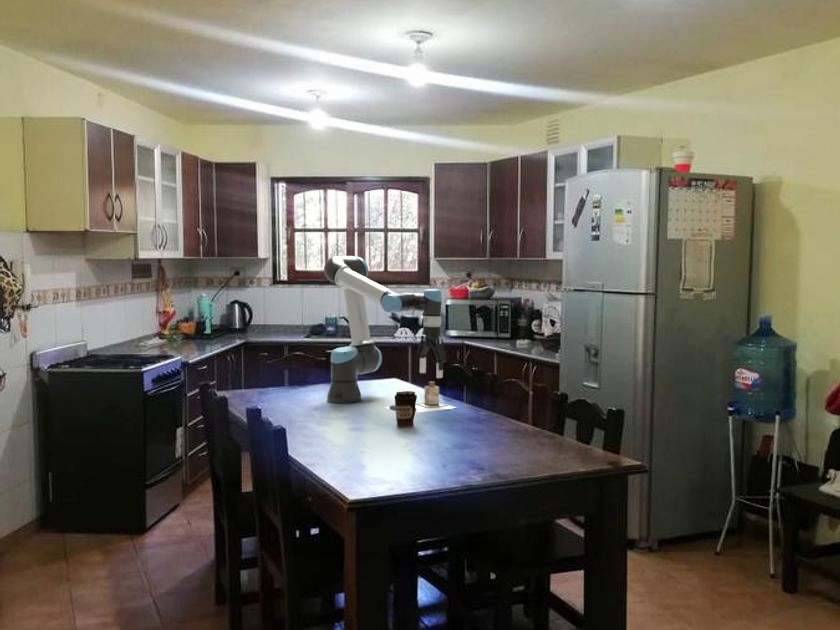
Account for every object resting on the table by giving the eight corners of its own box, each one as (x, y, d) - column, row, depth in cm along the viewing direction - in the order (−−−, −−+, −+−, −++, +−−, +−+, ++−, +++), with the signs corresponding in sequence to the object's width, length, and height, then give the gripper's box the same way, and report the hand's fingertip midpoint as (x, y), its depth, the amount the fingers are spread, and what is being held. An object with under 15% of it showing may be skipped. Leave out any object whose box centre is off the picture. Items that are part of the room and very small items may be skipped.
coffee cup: (414, 429, 282) (414, 394, 281) (392, 428, 283) (392, 393, 282) (418, 424, 290) (418, 390, 289) (397, 423, 292) (397, 389, 291)
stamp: (424, 404, 328) (424, 381, 327) (433, 403, 330) (433, 380, 330) (430, 406, 324) (430, 383, 323) (439, 405, 326) (439, 382, 326)
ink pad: (389, 408, 319) (389, 405, 319) (404, 407, 322) (404, 403, 322) (401, 412, 310) (401, 409, 310) (416, 411, 314) (416, 407, 314)
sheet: (383, 407, 322) (383, 406, 322) (435, 402, 336) (435, 400, 336) (403, 414, 308) (403, 413, 308) (457, 408, 321) (457, 407, 321)
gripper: (409, 323, 333) (408, 371, 335) (440, 329, 312) (439, 380, 314) (424, 322, 337) (423, 370, 339) (455, 328, 316) (454, 379, 318)
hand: (430, 375), depth 327 cm, fingers open, 13 cm apart
